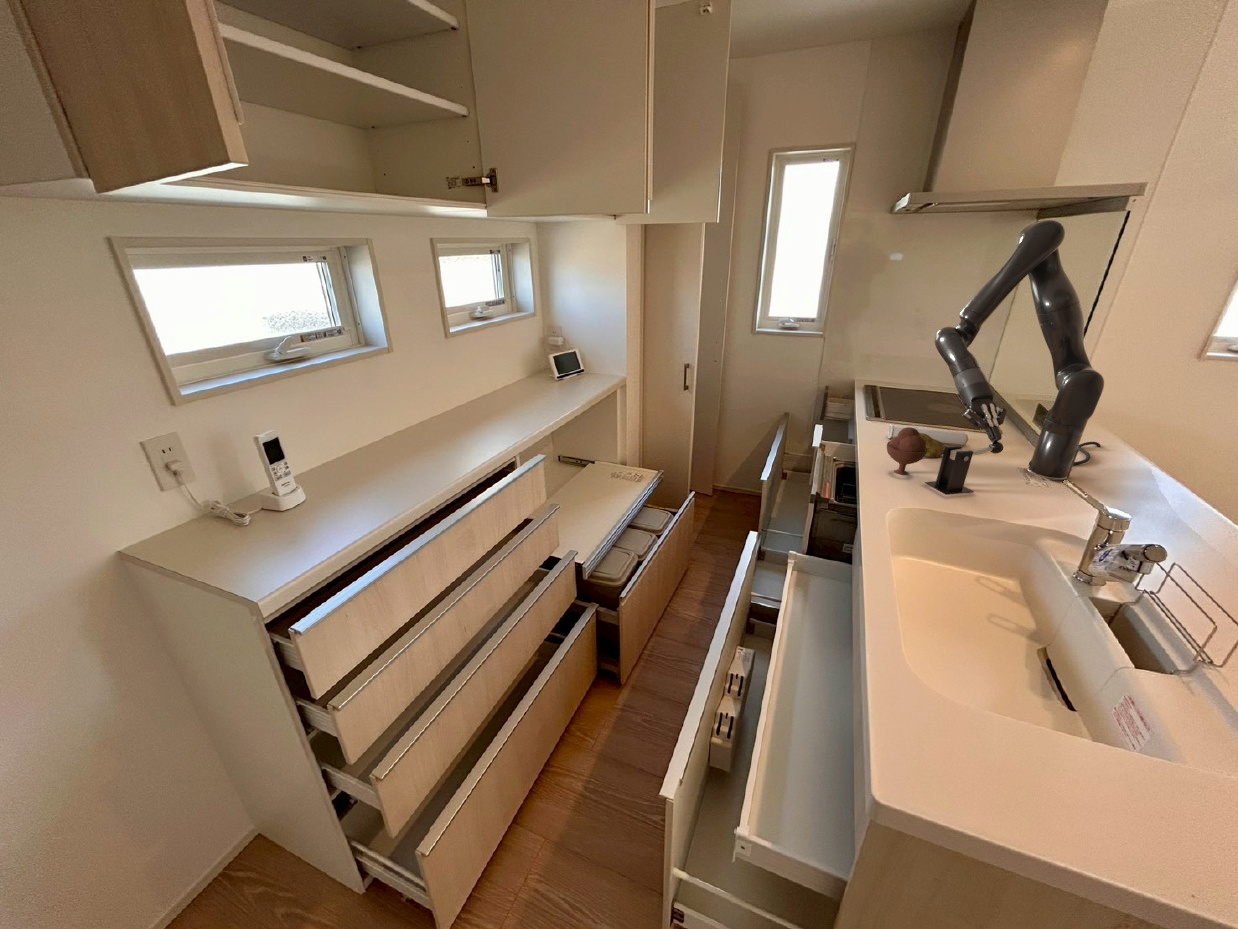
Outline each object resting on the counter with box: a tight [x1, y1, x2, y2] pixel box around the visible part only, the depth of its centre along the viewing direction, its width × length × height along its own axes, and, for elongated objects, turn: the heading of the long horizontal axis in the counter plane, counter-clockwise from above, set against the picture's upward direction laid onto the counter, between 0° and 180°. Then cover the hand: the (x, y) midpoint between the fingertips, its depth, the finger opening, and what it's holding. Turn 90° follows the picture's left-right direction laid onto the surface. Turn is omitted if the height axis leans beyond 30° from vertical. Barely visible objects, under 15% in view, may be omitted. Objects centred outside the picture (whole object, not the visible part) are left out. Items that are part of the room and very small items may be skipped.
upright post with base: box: [924, 445, 974, 496], centre depth 140 cm, size 9×8×13 cm
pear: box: [919, 432, 947, 459], centre depth 166 cm, size 8×13×8 cm, turn 72°
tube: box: [887, 424, 969, 447], centre depth 179 cm, size 5×5×25 cm
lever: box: [950, 441, 1004, 460], centre depth 139 cm, size 15×3×3 cm, turn 100°
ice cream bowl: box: [886, 426, 928, 476], centre depth 150 cm, size 11×11×15 cm
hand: (996, 440), depth 139 cm, fingers closed
